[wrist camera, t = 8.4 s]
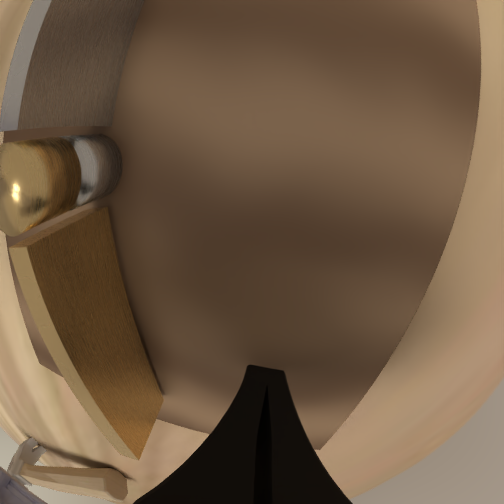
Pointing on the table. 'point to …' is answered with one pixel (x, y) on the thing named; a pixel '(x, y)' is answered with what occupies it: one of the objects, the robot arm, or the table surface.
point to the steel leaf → (73, 80)
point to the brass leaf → (77, 290)
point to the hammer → (66, 475)
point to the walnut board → (282, 190)
